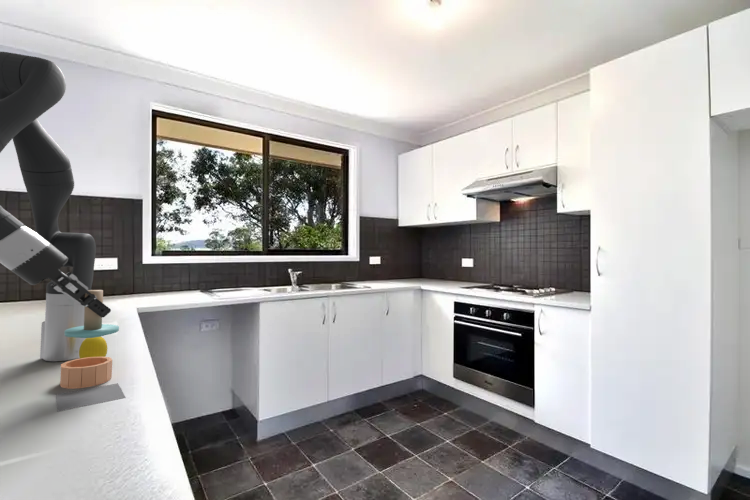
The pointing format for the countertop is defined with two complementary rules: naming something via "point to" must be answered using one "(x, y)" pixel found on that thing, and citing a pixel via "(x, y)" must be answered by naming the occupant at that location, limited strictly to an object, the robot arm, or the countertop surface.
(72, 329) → the lid
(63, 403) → the mat
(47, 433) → the countertop surface
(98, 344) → the lemon
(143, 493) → the countertop surface
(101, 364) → the bowl
